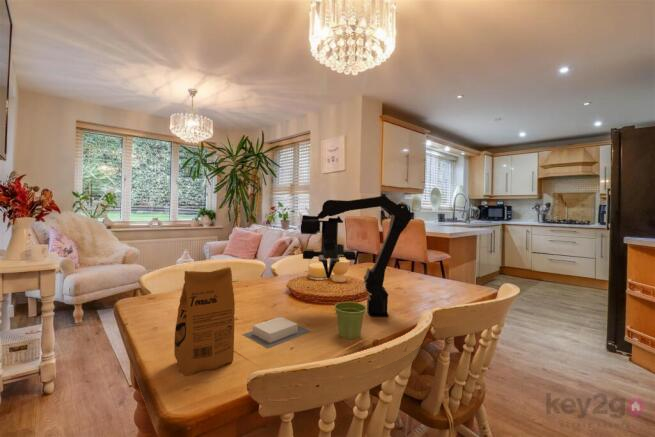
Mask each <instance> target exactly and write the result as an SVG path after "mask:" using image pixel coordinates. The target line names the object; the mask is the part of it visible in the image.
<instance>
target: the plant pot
mask: <svg viewBox="0 0 655 437" xmlns="http://www.w3.org/2000/svg"><path fill="white" fill-rule="evenodd" d="M333 308H334V310H335V313H336V320H337V329H338V335H339V337H340V338H343V339H347V340H355V339H359V338H360V337H361V333H362V332H361V331H362V325H363V320H364V315H365V313H366V312H367V305H365V304H363V303H361V302H360V303H359V302H355V301H343V302H338V303H335V305H334V307H333Z"/></svg>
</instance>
